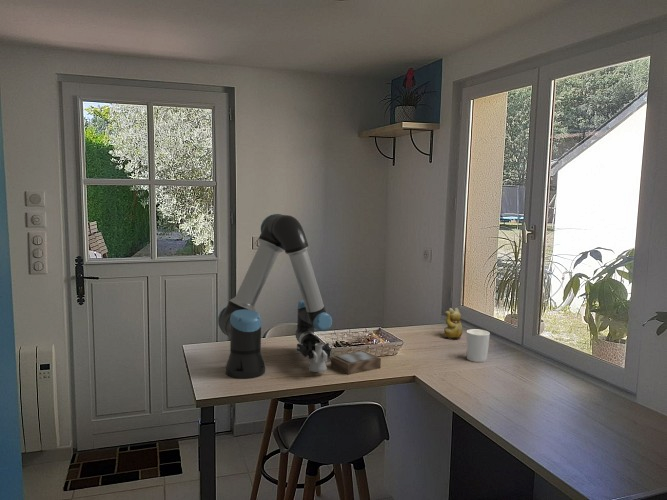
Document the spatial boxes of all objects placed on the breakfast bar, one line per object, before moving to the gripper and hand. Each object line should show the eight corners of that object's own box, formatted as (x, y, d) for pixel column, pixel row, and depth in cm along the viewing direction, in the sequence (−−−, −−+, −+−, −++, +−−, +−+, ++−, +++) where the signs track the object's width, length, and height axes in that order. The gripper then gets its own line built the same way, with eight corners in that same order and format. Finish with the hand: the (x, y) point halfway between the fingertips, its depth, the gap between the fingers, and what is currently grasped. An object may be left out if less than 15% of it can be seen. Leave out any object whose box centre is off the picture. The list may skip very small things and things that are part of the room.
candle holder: (493, 361, 231) (494, 334, 230) (474, 363, 228) (475, 335, 226) (479, 355, 240) (480, 328, 239) (460, 357, 237) (461, 330, 236)
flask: (328, 367, 213) (329, 342, 212) (326, 373, 206) (327, 347, 205) (309, 366, 213) (310, 341, 212) (307, 372, 206) (308, 346, 205)
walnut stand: (347, 374, 210) (348, 363, 210) (330, 366, 220) (331, 355, 220) (380, 368, 219) (380, 357, 219) (362, 360, 229) (363, 350, 228)
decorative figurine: (453, 335, 274) (454, 305, 273) (466, 338, 268) (468, 308, 267) (440, 337, 268) (442, 308, 267) (454, 341, 262) (455, 310, 260)
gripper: (328, 350, 229) (341, 367, 206) (290, 351, 225) (299, 369, 202) (328, 333, 228) (342, 348, 205) (290, 333, 224) (300, 349, 201)
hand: (321, 358), depth 204 cm, fingers closed on flask, 3 cm apart
